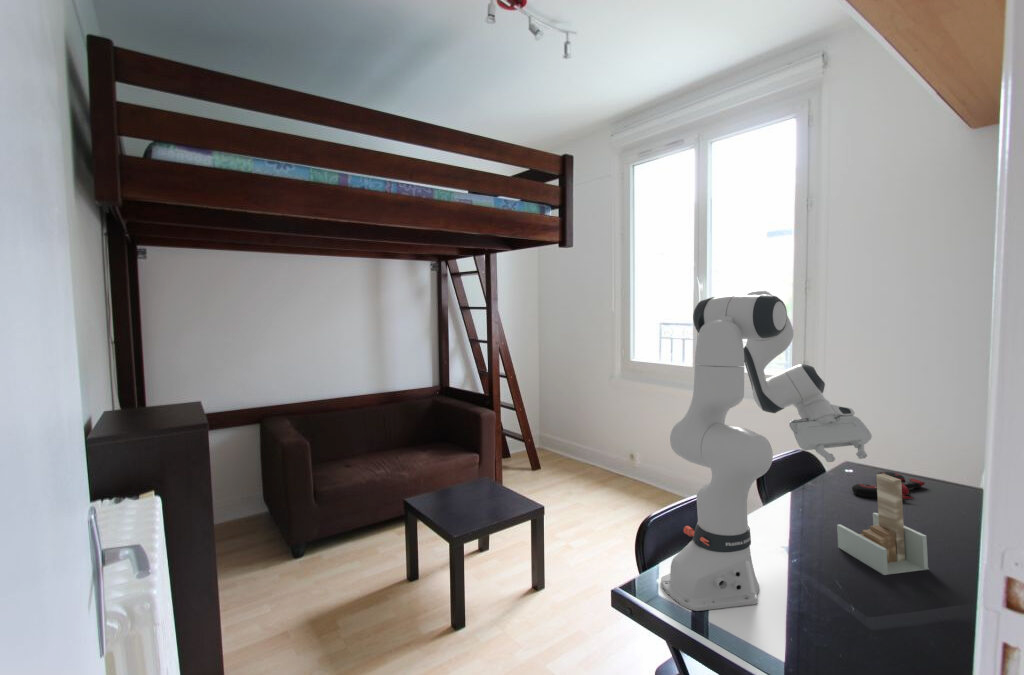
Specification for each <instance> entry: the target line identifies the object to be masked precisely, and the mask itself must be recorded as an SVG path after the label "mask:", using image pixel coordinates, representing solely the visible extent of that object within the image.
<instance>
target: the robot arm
mask: <svg viewBox="0 0 1024 675" xmlns="http://www.w3.org/2000/svg"><path fill="white" fill-rule="evenodd" d="M692 316H693V317H692V320H693V325H694V328H695V330H696V331H697V333H698V334H697V335H698V336H697V340H696V345H695V352H694V354H695V355H694V378H693V391H692V392H693V393H692V400H691V403H690V406H689V407H688V410H687V412H686V414H685V415H684V417H683V418H682V419H681V420H680V421H678V422H677V423H675V425H674V426H673V427H672V429H671V432H670V436H669V442H670V447H671V449H672V452H674V453H675V455H676V456H679V457H681V458H682V459H684V460H686V461H688V462H689V463H692V464H695V465H699V466H702V467H706V468H709V469H710V470H711V478H710V482H708V483H705V484H703V485H702V486H701V487H700V488H699V489H698V491H697V492H696V509H697V510H696V511H697V522H696V524H695V528H692V527H691V526H689V525H685V526H684V527H683V530H682V531H683V533H684V534H685V535H687V536H688V537H692V540H691V541H689V543H687V545H685V546H684V547H683V549H682V550H680V551H679V552H678V553H677V554H676V555H675V556H674V557H673V558H672V560H671V564H670V571H669V572H670V573H668V574H665V575H663V576H661V581H660V583H662V584H661V587H662V586H663V587H662V589H663V588H664V589H665V590H666V591H665V590H664V589H663V590H664V591H665V593H666V592H667V593H668V594H669V595H670V596H671V597H670V596H669V595H668V594H667V593H666V594H667V595H668V596H669V597H670V598H671V599H673V600H674V599H675V600H676V601H677V602H676V601H675V600H674V601H675V602H676V603H678V602H679V603H680V604H679V603H678V604H679V605H681V606H683V607H684V608H687V609H688V610H691V611H696V612H699V611H707V610H708V611H709V610H716V609H717V610H718V609H725V608H733V607H734V608H735V607H743V606H749V605H756V604H758V601H759V600H758V593H759V591H760V584H759V582H758V578H757V576H756V573H755V569H754V564H753V560H752V555H751V554H752V553H751V545H752V538H751V528H750V526H749V525H748V497H749V492H750V489H751V487H752V485H753V483H754V482H755V481H756V480H757V479H759V478H760V477H762V476H764V475H765V474H766V473H767V472H768V471H769V470H770V469H771V468H770V467H772V463H773V456H774V454H773V449H772V446H771V443H770V442H769V440H768V439H767V437H765V436H763V435H762V434H759V433H758V432H755V431H752V430H750V429H748V428H746V427H745V428H744V427H741V426H734V425H729V424H725V421H726V416H727V414H728V412H729V411H730V409H733V408H734V407H736V406H738V405H740V403H741V402H742V401H743V400H744V397H745V368H746V372H747V375H748V378H749V381H750V386H751V390H752V396H753V399H754V402H755V403H756V405H757V406H758V407H759V408H760V409H761V411H762V412H763V411H764V412H766V413H771V414H776V413H778V412H780V411H782V410H784V409H785V408H787V407H790V406H792V405H793V406H794V407H795V408H796V409H797V411H798V415H799V417H800V418H799V419H792V420H791V421H790V422H789V425H788V426H789V428H790V429H791V430H790V431H792V433H793V435H794V439H795V440H796V443H797V444H798V446H799V448H800V449H802V450H804V451H812V450H814V451H815V452H816V453H817V454H819V455H820V456H821V457H823V458H824V460H825V461H826V462H827V463H833V462H834V461H836V457H835V456H834V454H833V453H829V452H828V451H827V450H826V449H829V448H830V449H831V448H840V447H851V446H853V447H854V449H857V452H856V453H855V455H856V456H857V458H858V459H859V460H862V459H866V458H867V457H868V453H867V452H866V451H865V445H866V444H867V443H869V442H870V441H871V440H872V437H873V436H872V432H870V430H869V428H868V427H867V425H865V423H864V422H863V421H862V420H861V418H860V417H858V416H855V411H854V410H853V408H851V407H846V406H840V405H837V404H831V402H830V401H829V400H828V399H827V398H826V397H825V396H824V391H825V386H826V383H825V381H824V380H823V379H822V378H821V377H820V376H819V374H818V373H817V371H816V369H815V367H814V366H811V365H808V364H805V363H801V364H800V363H799V364H797V365H794V366H792V367H789V368H787V369H786V370H784V371H781V372H779V373H777V374H774V375H772V376H770V377H768V378H766V375H765V369H766V367H767V366H768V364H770V363H771V362H772V361H773V360H774V359H776V358H777V357H779V356H780V355H781V354H783V353H784V352H785V351H786V350H787V349H788V348H789V347H790V345H791V343H792V342H793V340H794V335H795V334H794V329H793V328H794V327H793V325H792V323H791V320H790V318H789V316H788V311H787V306H786V304H785V303H784V302H783V300H782V299H780V298H779V297H778V296H776V295H773V294H771V293H770V292H768V291H766V290H763V289H754V290H751V291H748V292H746V293H744V294H742V295H741V294H731V295H730V294H729V295H723V296H722V295H721V296H717V297H715V296H711V297H708V298H704V299H701V300H700V301H699V302H698V304H697V305H696V306H695V308H694V310H693V314H692ZM743 340H746V344H745V346H744V342H743Z"/></svg>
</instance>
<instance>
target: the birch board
mask: <svg viewBox="0 0 1024 675" xmlns="http://www.w3.org/2000/svg"><path fill="white" fill-rule="evenodd" d="M875 478H876V481H877V484H876V485H877V498H876V499H877V511H878V512H877V513H878V517H879V526H881V527H883V528H885V529H887V530H889V531H891V532H893V533H895V546H896V561H905V544H904V526H905V525H904V510H903V509H904V507H903V505H904V504H903V499H902V485H901V480H900V479H897V478H894V477H892V476H889V475H886V474H877V473H876V474H875Z"/></svg>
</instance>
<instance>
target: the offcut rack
mask: <svg viewBox="0 0 1024 675" xmlns="http://www.w3.org/2000/svg"><path fill="white" fill-rule="evenodd" d="M873 525H879V517H878V512H873V513H872V526H873ZM836 531H837V532H836V533H837V548H838V549H840V550H842V551H843V552H845V553H847V554H849V555H850V556H852V557H853V558H855V559H857V560H859V561H860V562H862V563H863V564H865V565H866V566H868V567H869V568H872V569H873V570H875V571H876V572H878V573H880V574H881V575H884V576H887V575H894V574H901V573H911V572H918V571H927V570H929V562H928V544H927V541H928V540H927V535H926V534H923V533H922V532H920V531H918V530H915V529H913V528H911V527H908V526H906V525H904V544H905V561H896V562H890V563H887V549H886V548H884V547H882V546H880V545H878V544H876V543H874V542H872V541H871V540H869V539H867V538H865V537H863V536H861V535H859V534H860V533H857V532H856V531H854V530H852V529H850V528H849V527H846V526H844V525H843V524H840V523H839V524H836Z"/></svg>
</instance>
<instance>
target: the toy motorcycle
mask: <svg viewBox="0 0 1024 675" xmlns="http://www.w3.org/2000/svg"><path fill="white" fill-rule="evenodd" d="M876 474H886V475H889V476H892V477H894V478H897V479H900V480H901V485H902V500H903V499H904V500H905V499H906V500H908V499H913V497H912V496H908V495H909V494H910V490H909V489H914V488H915V489H916V488H922V487H923V486H924V485H925V484H926V482H925V481H923V480H918V479H915V478H909V479H908V481H906V478H905V477H904V475H902V474H900V473H897V472H892V471H880V472H878V473H876ZM875 484H876V485H873V484H868V483H866V484H865V483H855V484H854V485H852V487H851V490H852V492H853V494H855V495H857V496H860V497H863V498H867V499H878V498H877V480H876V482H875Z"/></svg>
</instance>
